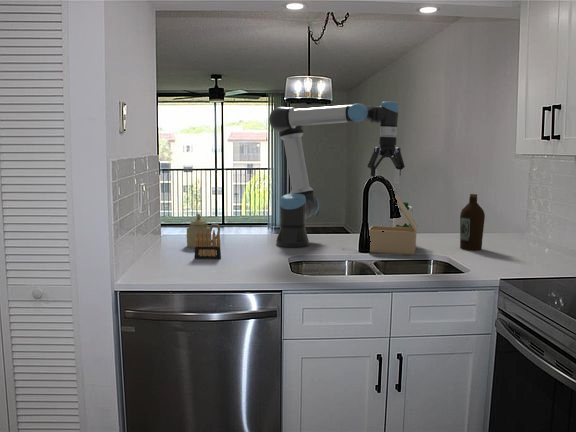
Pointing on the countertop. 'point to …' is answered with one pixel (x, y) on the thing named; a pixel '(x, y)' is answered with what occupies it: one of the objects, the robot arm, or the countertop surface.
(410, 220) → the carton flap
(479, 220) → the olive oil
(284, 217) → the robot arm
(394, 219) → the milk carton
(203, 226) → the sugar bowl
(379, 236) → the carton
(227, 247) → the countertop surface
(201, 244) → the ammunition clip
